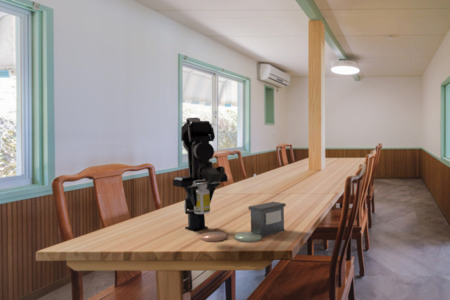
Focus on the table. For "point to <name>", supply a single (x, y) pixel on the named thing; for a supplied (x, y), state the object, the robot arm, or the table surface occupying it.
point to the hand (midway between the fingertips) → (201, 205)
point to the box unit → (267, 218)
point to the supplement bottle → (202, 199)
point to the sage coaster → (248, 237)
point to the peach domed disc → (213, 236)
